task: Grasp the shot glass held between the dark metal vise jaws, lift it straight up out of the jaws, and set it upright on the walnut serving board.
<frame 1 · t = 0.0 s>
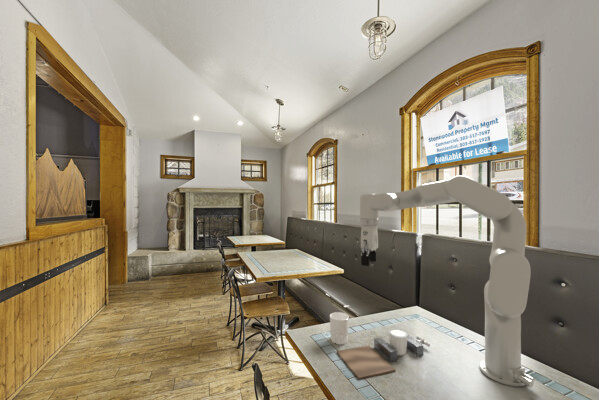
hand: (368, 263, 112), 31 cm above the table, tool pointing down, fingers open, 9 cm apart
white cup: (339, 340, 109), on the table
vise: (398, 351, 102), on the table
serving board: (364, 361, 95), on the table
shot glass: (398, 351, 102), on the table
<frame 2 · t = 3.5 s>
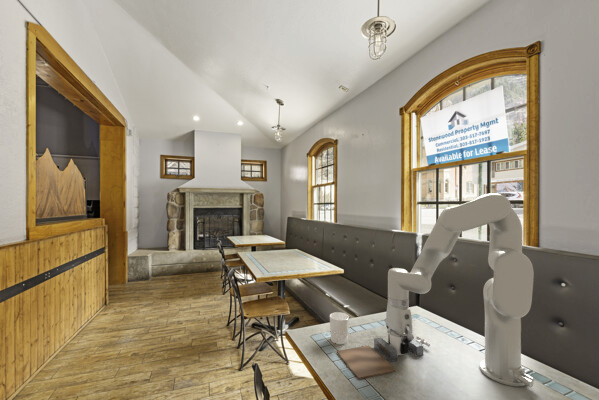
hand: (398, 348, 102), 1 cm above the table, tool pointing down, fingers closed on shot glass, 6 cm apart
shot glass: (398, 351, 102), on the table, touching gripper
everything else where it was.
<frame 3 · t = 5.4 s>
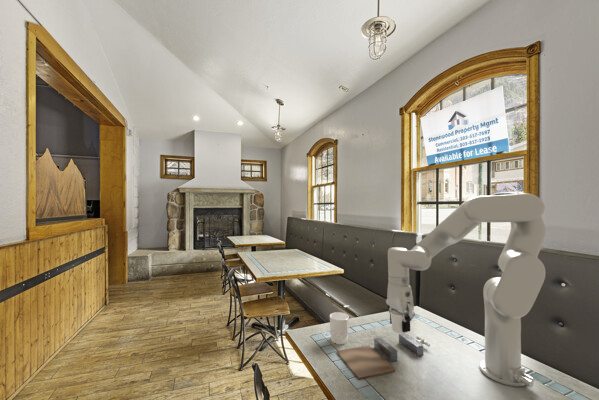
hand: (399, 326, 101), 9 cm above the table, tool pointing down, fingers closed on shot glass, 6 cm apart
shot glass: (400, 330, 101), point 8 cm above the table, touching gripper
everything else where it was.
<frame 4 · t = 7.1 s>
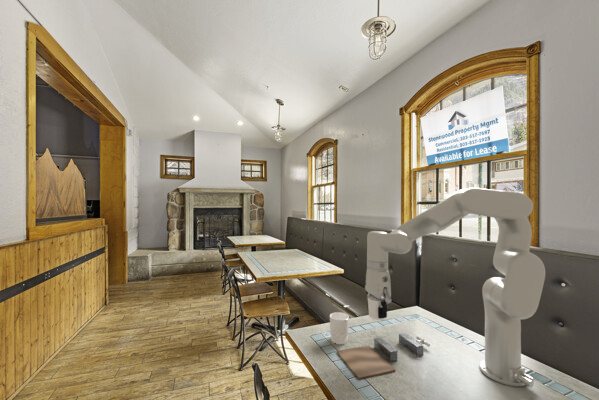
hand: (376, 313, 98), 16 cm above the table, tool pointing down, fingers closed on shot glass, 6 cm apart
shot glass: (376, 316, 98), point 15 cm above the table, touching gripper
everything else where it was.
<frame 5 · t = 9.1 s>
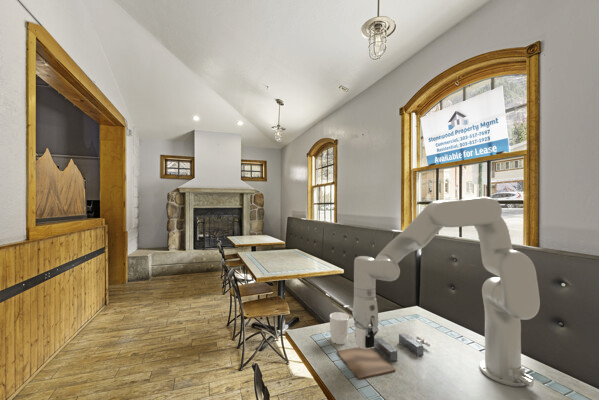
hand: (364, 341, 95), 7 cm above the table, tool pointing down, fingers closed on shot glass, 6 cm apart
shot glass: (364, 345, 95), point 6 cm above the table, touching gripper
everything else where it was.
when the fingers open (3 cm above the table, at t = 10.8 s): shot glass drops 1 cm, resting on serving board.
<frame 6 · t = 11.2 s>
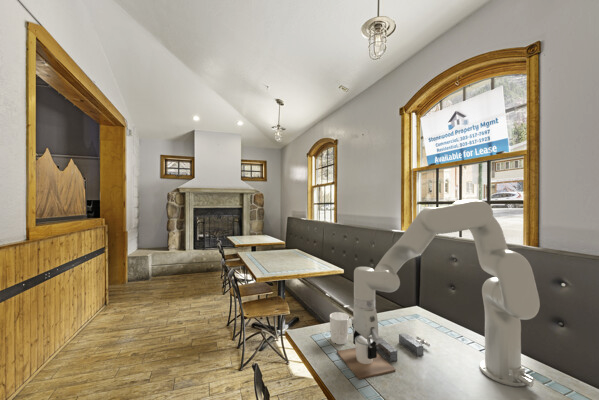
hand: (364, 350, 95), 4 cm above the table, tool pointing down, fingers open, 9 cm apart
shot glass: (364, 359, 95), resting on serving board
everything else where it was.
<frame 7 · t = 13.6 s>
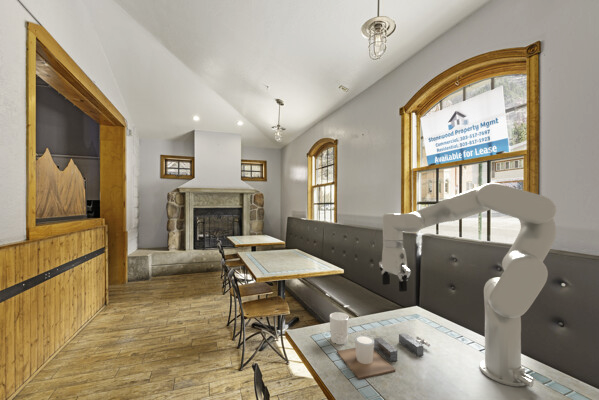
hand: (394, 287, 105), 23 cm above the table, tool pointing down, fingers open, 9 cm apart
nothing on the table moved.
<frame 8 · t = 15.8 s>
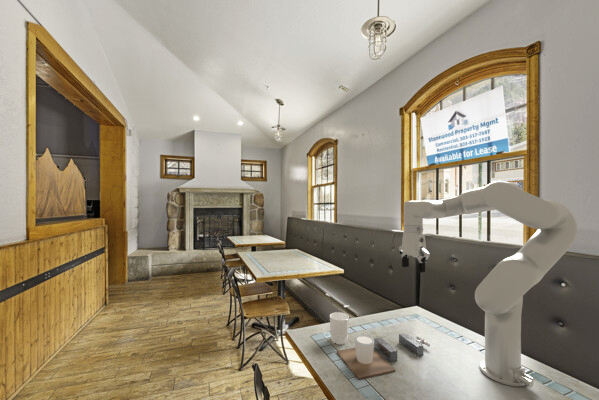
hand: (413, 269, 114), 28 cm above the table, tool pointing down, fingers open, 9 cm apart
nothing on the table moved.
at the end: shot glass inside the target area on the serving board (0.3 cm from its centre), point 0.4 cm above the serving board's base; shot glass tilted 0°; the gripper is holding nothing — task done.
